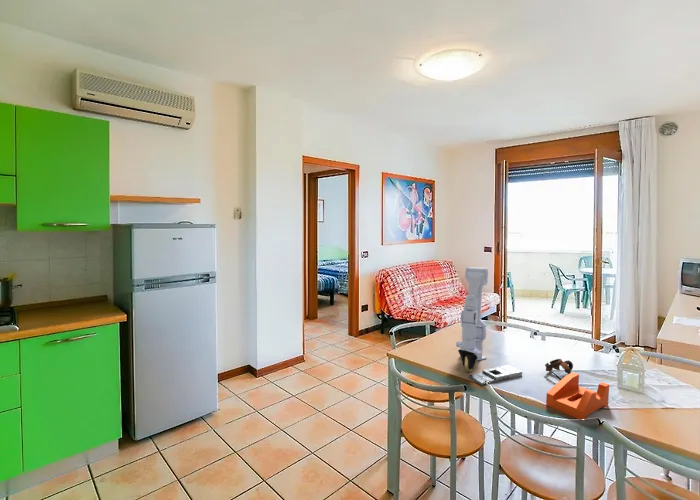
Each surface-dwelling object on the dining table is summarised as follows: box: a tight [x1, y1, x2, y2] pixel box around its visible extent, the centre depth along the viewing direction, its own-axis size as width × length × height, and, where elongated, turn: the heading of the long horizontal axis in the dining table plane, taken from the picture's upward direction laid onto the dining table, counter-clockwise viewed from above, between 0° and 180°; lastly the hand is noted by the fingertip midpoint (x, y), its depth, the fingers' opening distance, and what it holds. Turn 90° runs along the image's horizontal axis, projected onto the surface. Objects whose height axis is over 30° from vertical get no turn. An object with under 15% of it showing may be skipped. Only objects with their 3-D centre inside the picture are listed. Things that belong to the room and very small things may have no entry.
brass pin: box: [464, 355, 473, 374], centre depth 166 cm, size 3×3×7 cm
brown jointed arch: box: [544, 358, 574, 375], centre depth 162 cm, size 12×10×8 cm
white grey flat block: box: [468, 364, 523, 386], centre depth 161 cm, size 22×8×2 cm, turn 113°
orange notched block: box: [545, 371, 610, 420], centre depth 136 cm, size 18×13×8 cm
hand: (468, 367), depth 166 cm, fingers closed on brass pin, 3 cm apart
